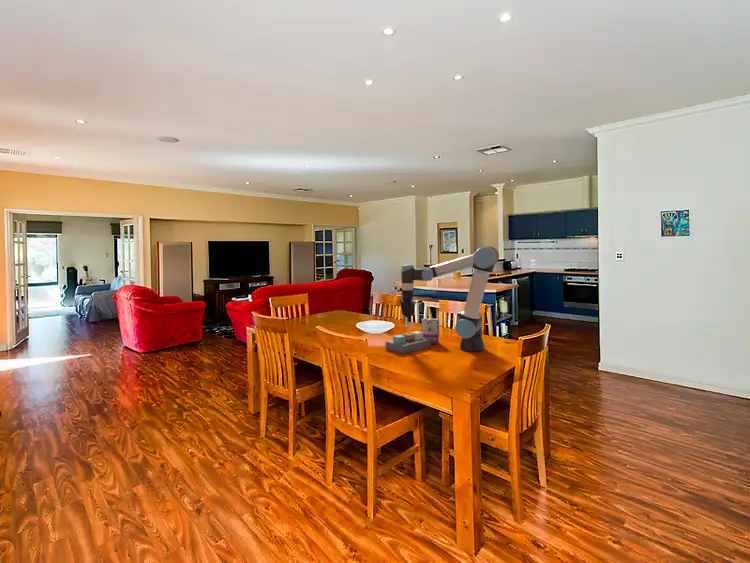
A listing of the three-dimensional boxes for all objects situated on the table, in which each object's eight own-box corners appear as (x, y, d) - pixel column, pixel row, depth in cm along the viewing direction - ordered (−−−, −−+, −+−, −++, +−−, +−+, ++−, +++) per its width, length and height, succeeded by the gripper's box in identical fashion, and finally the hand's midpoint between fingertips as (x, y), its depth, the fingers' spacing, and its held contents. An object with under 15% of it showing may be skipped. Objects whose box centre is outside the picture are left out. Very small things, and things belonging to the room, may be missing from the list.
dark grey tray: (430, 347, 257) (430, 339, 256) (402, 354, 242) (402, 346, 241) (413, 342, 269) (413, 335, 269) (385, 349, 254) (385, 341, 254)
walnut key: (414, 341, 255) (414, 334, 254) (408, 342, 251) (408, 335, 251) (408, 339, 259) (408, 332, 258) (402, 341, 255) (402, 334, 255)
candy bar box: (439, 342, 267) (439, 318, 265) (438, 344, 262) (437, 319, 261) (423, 341, 271) (422, 317, 269) (421, 343, 266) (421, 319, 264)
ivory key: (422, 339, 259) (422, 332, 259) (416, 340, 256) (416, 333, 255) (416, 337, 264) (416, 331, 263) (410, 339, 260) (410, 332, 260)
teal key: (405, 343, 250) (405, 336, 250) (399, 344, 247) (399, 337, 246) (399, 341, 254) (399, 334, 254) (393, 343, 251) (393, 336, 250)
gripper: (419, 290, 249) (419, 327, 252) (404, 288, 259) (404, 324, 262) (410, 291, 244) (410, 329, 247) (396, 289, 255) (396, 325, 257)
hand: (407, 326), depth 254 cm, fingers closed
